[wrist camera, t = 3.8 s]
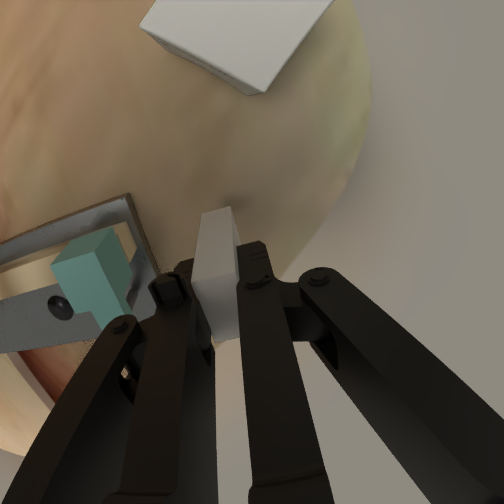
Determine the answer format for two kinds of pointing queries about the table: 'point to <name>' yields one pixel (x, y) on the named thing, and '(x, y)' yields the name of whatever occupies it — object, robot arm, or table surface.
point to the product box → (235, 35)
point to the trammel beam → (38, 265)
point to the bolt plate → (52, 297)
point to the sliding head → (95, 276)
